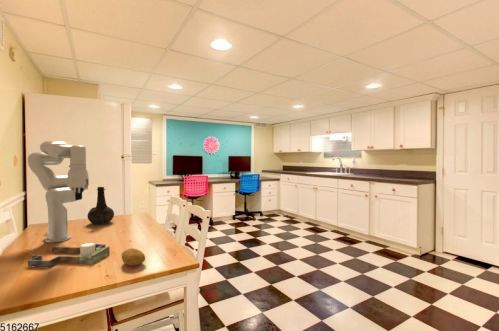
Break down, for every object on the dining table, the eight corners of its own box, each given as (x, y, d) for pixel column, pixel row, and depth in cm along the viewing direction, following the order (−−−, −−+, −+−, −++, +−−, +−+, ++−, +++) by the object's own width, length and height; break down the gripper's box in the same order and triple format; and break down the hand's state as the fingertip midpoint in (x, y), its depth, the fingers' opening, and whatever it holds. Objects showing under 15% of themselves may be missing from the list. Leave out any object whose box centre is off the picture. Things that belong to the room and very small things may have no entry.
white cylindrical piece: (84, 255, 134) (83, 242, 134) (98, 255, 135) (98, 241, 135) (77, 261, 127) (76, 247, 127) (92, 260, 128) (91, 246, 128)
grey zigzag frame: (19, 266, 121) (19, 258, 121) (61, 248, 145) (61, 241, 145) (84, 269, 118) (84, 260, 118) (116, 249, 143) (116, 242, 142)
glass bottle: (98, 220, 209) (98, 185, 208) (119, 220, 207) (118, 185, 206) (81, 226, 191) (80, 188, 190) (103, 226, 189) (103, 188, 188)
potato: (126, 271, 116) (126, 256, 116) (118, 262, 126) (118, 248, 125) (147, 265, 122) (147, 251, 122) (138, 257, 132) (138, 244, 131)
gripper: (60, 167, 143) (61, 200, 144) (85, 167, 142) (86, 201, 143) (71, 166, 151) (71, 198, 152) (95, 167, 149) (95, 198, 150)
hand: (78, 199), depth 147 cm, fingers closed
